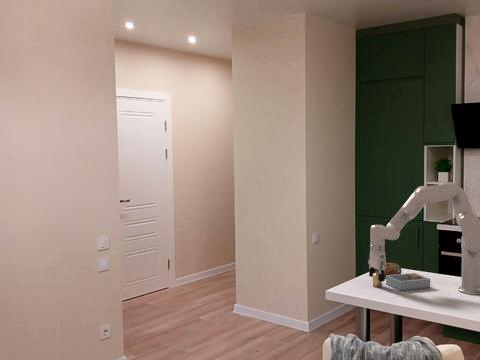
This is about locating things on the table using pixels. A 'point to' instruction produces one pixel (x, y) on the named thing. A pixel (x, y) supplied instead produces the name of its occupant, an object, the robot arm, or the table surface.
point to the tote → (407, 282)
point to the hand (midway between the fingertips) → (376, 278)
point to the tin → (391, 269)
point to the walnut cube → (413, 277)
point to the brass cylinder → (376, 280)
